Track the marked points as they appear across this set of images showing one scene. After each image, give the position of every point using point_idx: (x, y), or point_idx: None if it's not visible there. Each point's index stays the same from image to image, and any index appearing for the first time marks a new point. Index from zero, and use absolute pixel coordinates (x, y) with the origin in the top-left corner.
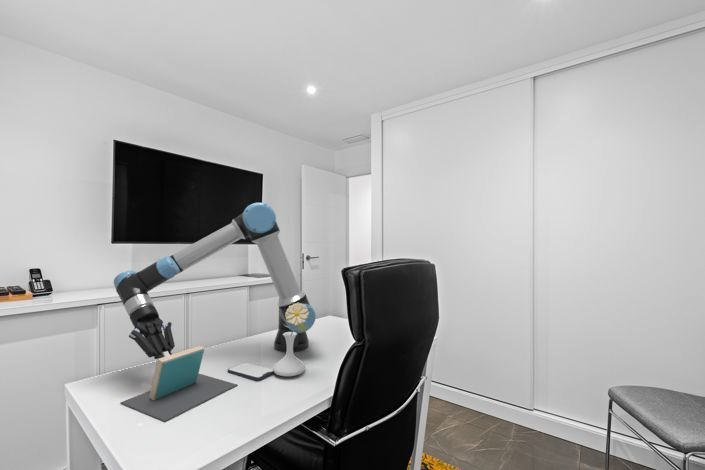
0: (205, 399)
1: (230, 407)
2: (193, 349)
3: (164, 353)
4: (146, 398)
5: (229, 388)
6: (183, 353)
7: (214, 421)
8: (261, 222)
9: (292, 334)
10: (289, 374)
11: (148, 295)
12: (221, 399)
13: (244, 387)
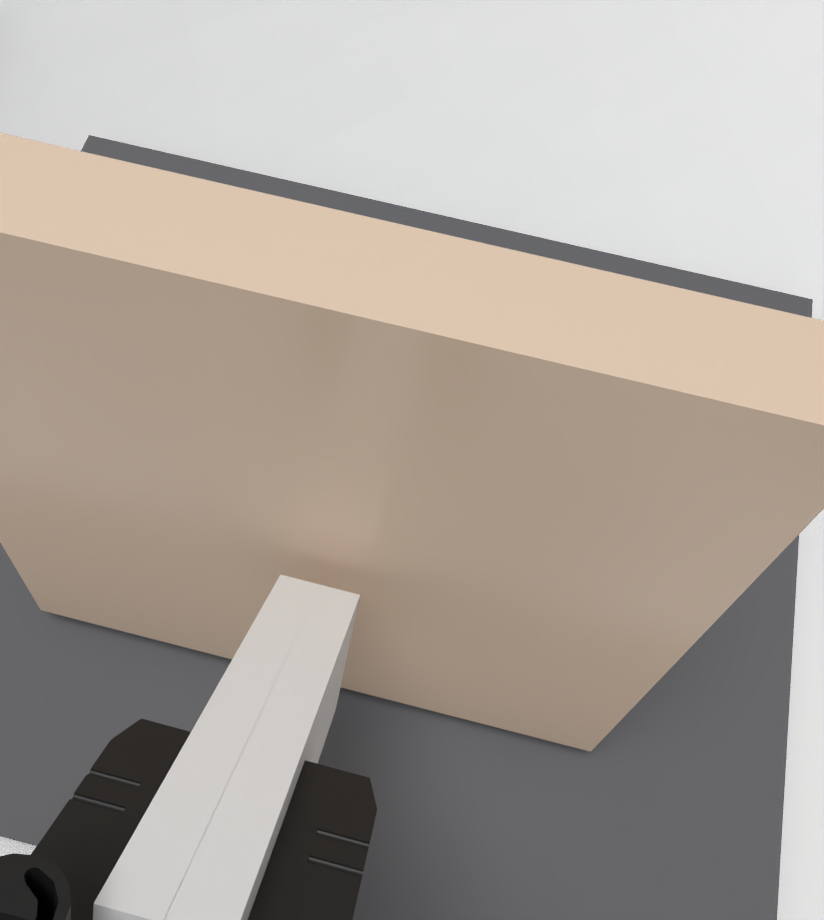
0: (425, 226)
1: (461, 31)
2: (61, 198)
3: (233, 891)
4: (586, 794)
5: (181, 158)
6: (336, 245)
7: (654, 33)
8: None
9: None
10: None
11: None
12: (366, 139)
13: (116, 84)
